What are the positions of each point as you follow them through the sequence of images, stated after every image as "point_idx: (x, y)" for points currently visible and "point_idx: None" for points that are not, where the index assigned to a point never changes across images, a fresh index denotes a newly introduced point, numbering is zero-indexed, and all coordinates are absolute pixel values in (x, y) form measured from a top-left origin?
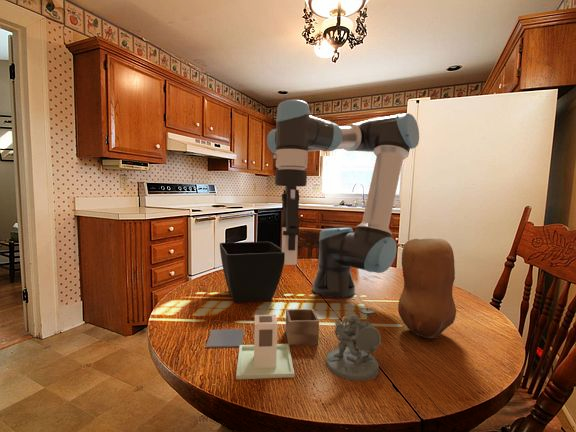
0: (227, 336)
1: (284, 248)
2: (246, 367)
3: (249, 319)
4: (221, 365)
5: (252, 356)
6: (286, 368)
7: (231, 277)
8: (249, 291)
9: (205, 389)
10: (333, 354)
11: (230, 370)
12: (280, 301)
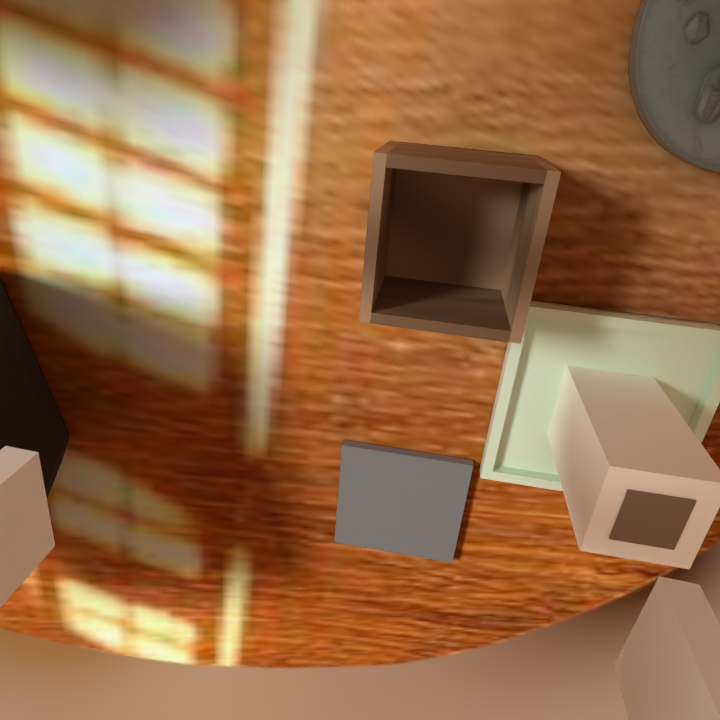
0: (394, 501)
1: (22, 555)
2: None
3: (235, 405)
4: (564, 524)
5: None
6: (675, 344)
7: None
8: (21, 415)
9: None
10: (685, 117)
11: None
12: (10, 227)
